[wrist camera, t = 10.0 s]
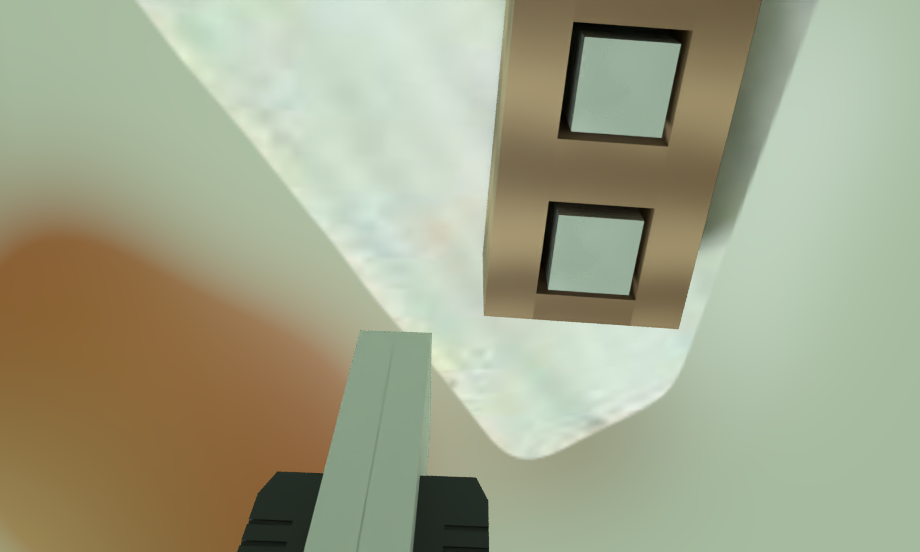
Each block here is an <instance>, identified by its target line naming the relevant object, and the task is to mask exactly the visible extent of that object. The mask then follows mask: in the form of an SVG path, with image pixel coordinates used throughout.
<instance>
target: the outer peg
mask: <svg viewBox="0 0 920 552" xmlns="http://www.w3.org/2000/svg"><path fill="white" fill-rule="evenodd" d="M643 225H644V220H643V218H642V216H641V214H640V212H639V210H638V208H637V207H626V206H612V205H598V204H584V203H569V202H555V201H549V203H548V211H547V218H546V225H545V233H544V240H543V247H542V259H543V264H544V270H545V275H546V281H547V286H548V290H561V291H575V292H590V293H604V294H619V295H629V292H630V287H631V282H632V277H633V273H634V268H635V263H636V258H637V253H638V249H639V244H640V239H641V234H642V229H643Z"/></svg>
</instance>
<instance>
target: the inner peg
mask: <svg viewBox="0 0 920 552" xmlns="http://www.w3.org/2000/svg"><path fill="white" fill-rule="evenodd" d="M680 47H681V44H680V43H679V42H678V41H676V40H675V39H674V38H672V37H671V36H670V35H668V34H667V33H665V32H664V31H663V30H661V29H660V28H651V27H637V26H624V25H610V24H597V23H583V22H573V27H572V35H571V42H570V49H569V57H568V64H567V71H566V79H565V86H564V93H563V101H562V110H563V112H564V115H565V117H566V120H567V122H568V125H569V127H570V130H571V131H573V132H587V133H601V134H615V135H628V136H642V137H656V138H662V133H663V128H664V124H665V119H666V114H667V109H668V104H669V100H670V95H671V90H672V85H673V80H674V76H675V71H676V66H677V61H678V56H679V51H680Z"/></svg>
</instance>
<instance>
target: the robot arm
mask: <svg viewBox="0 0 920 552" xmlns="http://www.w3.org/2000/svg"><path fill="white" fill-rule="evenodd" d="M431 339H432V333H417V332H391V331H389V332H388V331H365V330H360V333H359V337H358V341H357V345H356V349H355V353H354V357H353V360H352V365H351V369H350V372H349V377H348V380H347V384H346V388H345V392H344V396H343V400H342V404H341V408H340V411H339V415H338V419H337V423H336V427H335V431H334V435H333V439H332V443H331V447H330V451H329V454H328V458H327V463H326V466H325V470H324V473H301V472H277V473H276V474H275V475H274V476H273V477H272V478H271V479H270V480H269V482H268V483H267V484H266V485H265V486H264V487H263V488H262V489H261V491H260V492H259V493H258V495H257V497H256V500H255V503H254V506H253V509H252V512H251V514H250V517H249V523H248V524H247V526H246V529H245V532H244V535H243V537H242V542H241V545H240V546H239V548H238V551H237V552H489V532H488V528H489V526H488V525H489V523H488V499H487V498H486V496H485V494H484V492H483V490H482V488H481V486H480V484H479V482H478V480H477V478H473V477H446V476H426V475H427V463H428V452H429V440H430V409H431Z"/></svg>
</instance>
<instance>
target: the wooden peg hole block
mask: <svg viewBox="0 0 920 552" xmlns="http://www.w3.org/2000/svg"><path fill="white" fill-rule="evenodd" d="M761 1H762V0H506V9H505V20H504V30H503V41H502V52H501V63H500V74H499V84H498V95H497V106H496V117H495V128H494V138H493V149H492V160H491V171H490V182H489V193H488V203H487V214H486V225H485V236H484V247H483V294H484V316H494V317H509V318H524V319H538V320H553V321H568V322H582V323H597V324H612V325H626V326H641V327H656V328H670V329H679V325H680V321H681V317H682V313H683V309H684V306H685V302H686V298H687V294H688V290H689V286H690V282H691V278H692V274H693V270H694V266H695V262H696V258H697V254H698V250H699V246H700V242H701V238H702V234H703V230H704V226H705V223H706V219H707V215H708V211H709V207H710V203H711V199H712V195H713V191H714V187H715V183H716V179H717V175H718V171H719V167H720V163H721V159H722V155H723V151H724V147H725V143H726V140H727V136H728V132H729V128H730V124H731V120H732V116H733V112H734V108H735V104H736V100H737V96H738V92H739V88H740V84H741V80H742V76H743V72H744V68H745V64H746V60H747V57H748V53H749V49H750V45H751V41H752V37H753V33H754V29H755V25H756V21H757V17H758V13H759V9H760V5H761ZM573 22H583V23H597V24H610V25H624V26H637V27H651V28H660V29H661V30H663V31H664V32H665V33H667V34H668V35H670V36H671V37H672V38H674V39H675V40H676V41H678V42H679V43H680V44H681V47H680V51H679V56H678V61H677V66H676V71H675V76H674V80H673V85H672V90H671V95H670V100H669V104H668V109H667V114H666V119H665V124H664V128H663V133H662V138H656V137H642V136H628V135H615V134H601V133H587V132H573V131H571V130H570V127H569V125H568V122H567V120H566V117H565V115H564V112H563V110H562V101H563V93H564V86H565V79H566V71H567V64H568V57H569V49H570V42H571V35H572V27H573ZM549 201H555V202H569V203H584V204H598V205H612V206H626V207H637V208H638V210H639V212H640V214H641V216H642V218H643V220H644V225H643V229H642V234H641V239H640V244H639V249H638V253H637V258H636V263H635V268H634V273H633V277H632V282H631V287H630V292H629V295H619V294H604V293H590V292H575V291H561V290H548V286H547V281H546V275H545V270H544V264H543V259H542V247H543V240H544V233H545V225H546V218H547V211H548V203H549Z"/></svg>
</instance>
